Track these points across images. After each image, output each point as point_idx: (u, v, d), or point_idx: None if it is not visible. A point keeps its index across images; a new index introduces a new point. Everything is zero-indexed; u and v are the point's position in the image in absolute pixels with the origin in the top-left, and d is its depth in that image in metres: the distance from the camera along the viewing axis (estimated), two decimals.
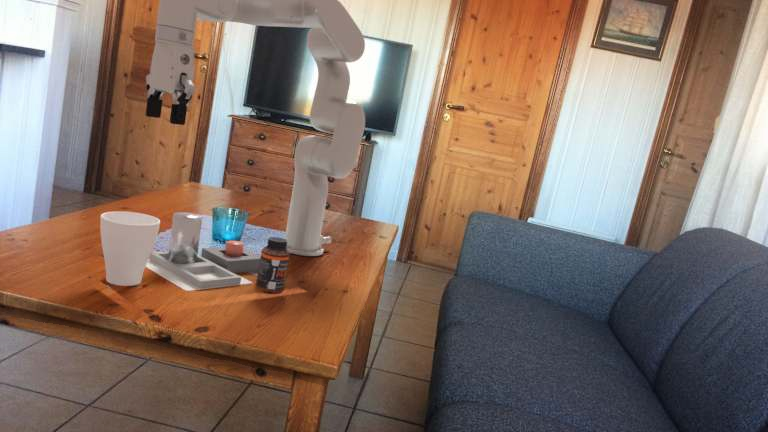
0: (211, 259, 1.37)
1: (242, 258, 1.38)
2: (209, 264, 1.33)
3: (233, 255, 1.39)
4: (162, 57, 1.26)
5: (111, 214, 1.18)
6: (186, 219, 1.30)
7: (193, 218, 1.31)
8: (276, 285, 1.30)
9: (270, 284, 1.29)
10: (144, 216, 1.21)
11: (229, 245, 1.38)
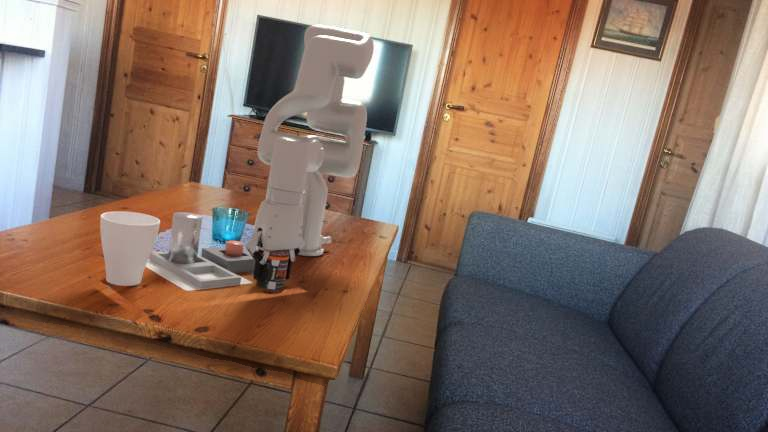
0: (211, 259, 1.37)
1: (242, 258, 1.38)
2: (209, 264, 1.33)
3: (233, 255, 1.39)
4: (290, 220, 1.28)
5: (111, 214, 1.18)
6: (186, 219, 1.30)
7: (193, 218, 1.31)
8: (276, 285, 1.30)
9: (270, 284, 1.29)
10: (144, 216, 1.21)
11: (229, 245, 1.38)
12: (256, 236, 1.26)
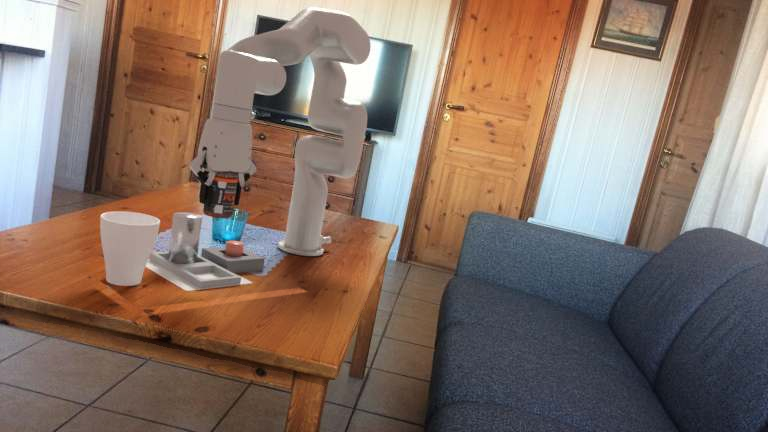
0: (211, 259, 1.37)
1: (242, 258, 1.38)
2: (209, 264, 1.33)
3: (233, 255, 1.39)
4: (238, 139, 1.22)
5: (111, 214, 1.18)
6: (186, 219, 1.30)
7: (193, 218, 1.31)
8: (223, 209, 1.23)
9: (217, 208, 1.23)
10: (144, 216, 1.21)
11: (229, 245, 1.38)
12: (200, 154, 1.19)
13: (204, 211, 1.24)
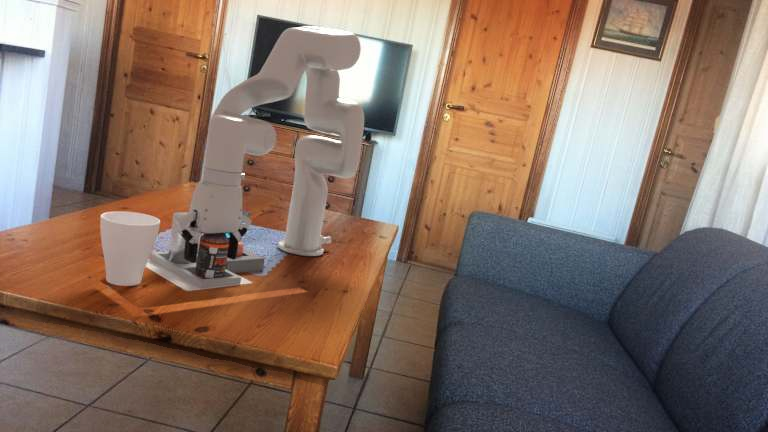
0: None
1: (242, 258, 1.38)
2: None
3: None
4: (228, 201, 1.24)
5: (111, 214, 1.18)
6: None
7: None
8: (215, 273, 1.26)
9: (208, 273, 1.25)
10: (144, 216, 1.21)
11: None
12: (190, 214, 1.21)
13: (196, 275, 1.26)
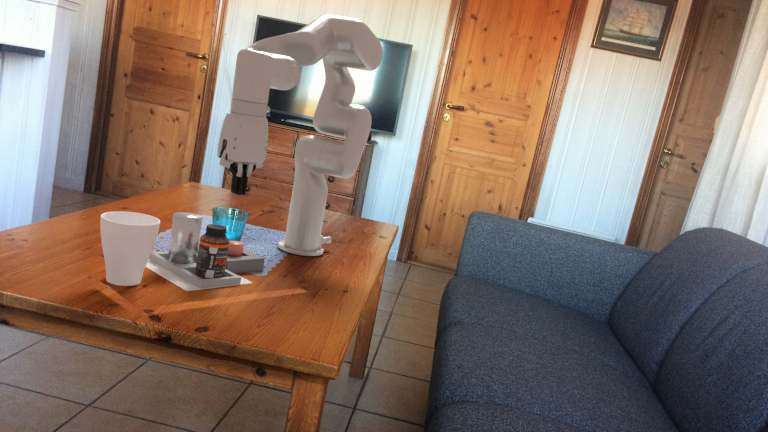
0: None
1: (242, 258, 1.38)
2: None
3: (233, 255, 1.39)
4: (255, 132, 1.31)
5: (111, 214, 1.18)
6: (186, 219, 1.30)
7: (193, 218, 1.31)
8: (215, 273, 1.26)
9: (208, 273, 1.25)
10: (144, 216, 1.21)
11: (229, 245, 1.38)
12: (225, 151, 1.30)
13: (196, 275, 1.26)
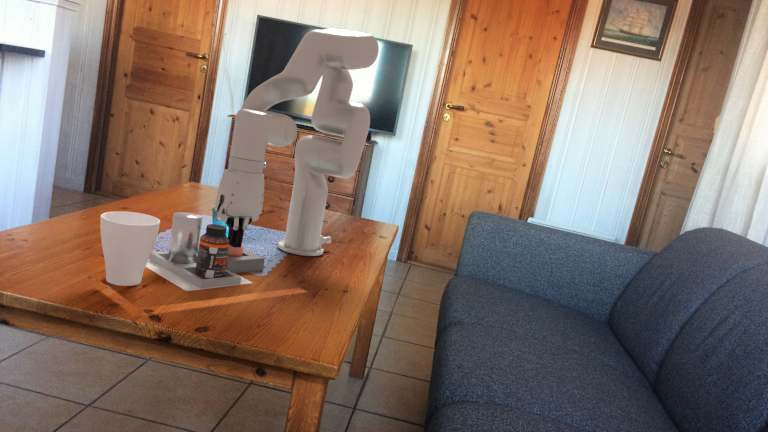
0: None
1: (242, 258, 1.38)
2: None
3: None
4: (252, 187, 1.36)
5: (111, 214, 1.18)
6: (186, 219, 1.30)
7: (193, 218, 1.31)
8: (215, 273, 1.26)
9: (208, 273, 1.25)
10: (144, 216, 1.21)
11: (229, 248, 1.38)
12: (222, 206, 1.35)
13: (196, 275, 1.26)
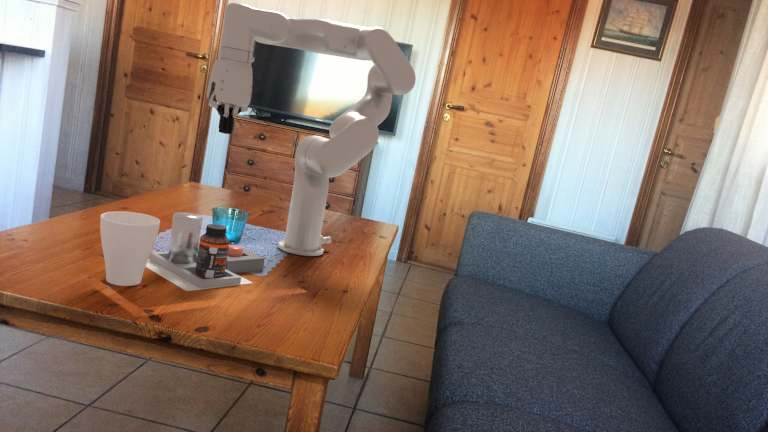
0: None
1: (242, 258, 1.38)
2: None
3: None
4: (240, 77, 1.48)
5: (111, 214, 1.18)
6: (186, 219, 1.30)
7: (193, 218, 1.31)
8: (215, 273, 1.26)
9: (208, 273, 1.25)
10: (144, 216, 1.21)
11: (228, 249, 1.38)
12: (213, 93, 1.47)
13: (196, 275, 1.26)
